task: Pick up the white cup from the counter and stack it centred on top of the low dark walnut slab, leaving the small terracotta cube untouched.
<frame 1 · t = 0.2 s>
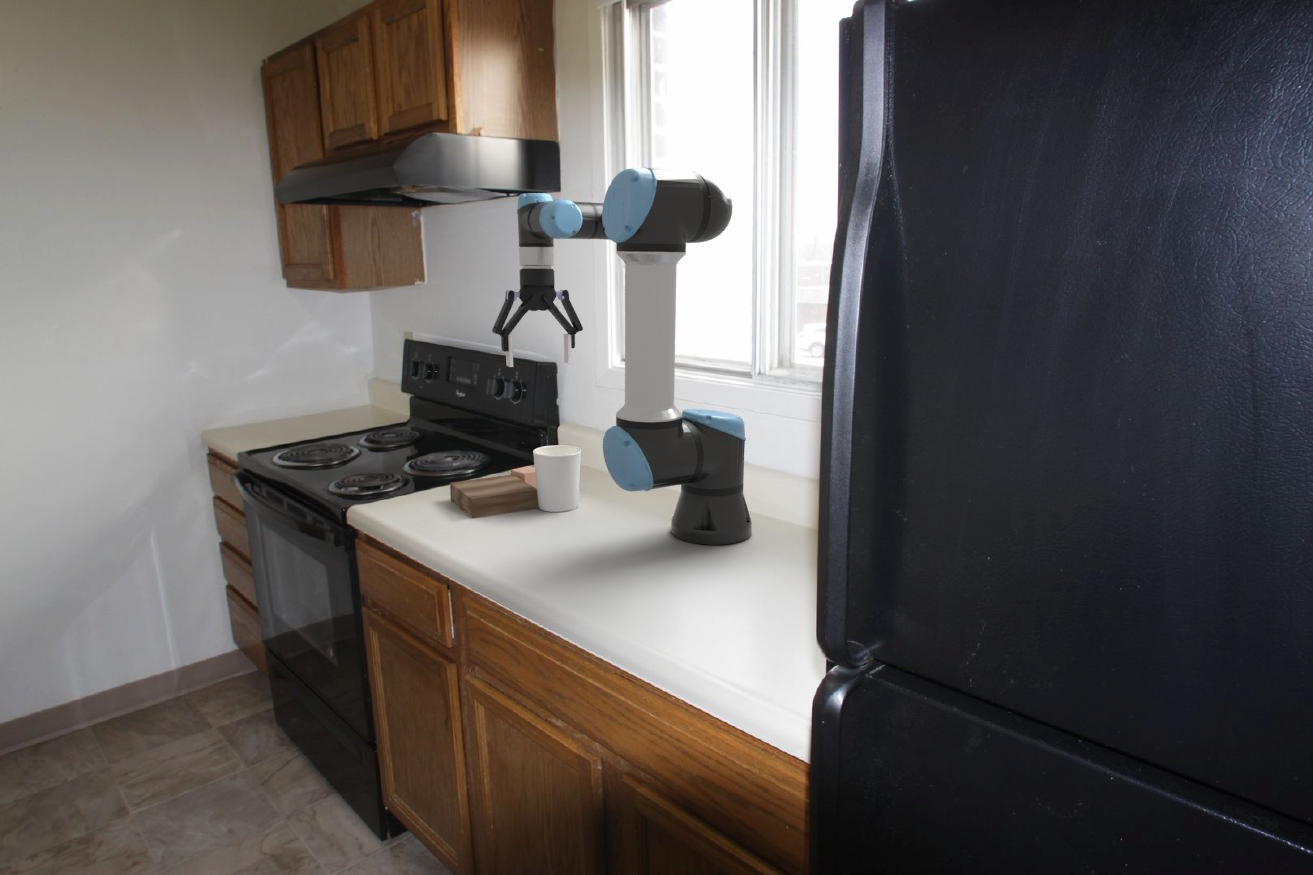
hand: (539, 364, 183), 27 cm above the worktop, fingers open, 13 cm apart
walnut slab: (493, 504, 172), on the worktop
white cup: (558, 507, 171), on the worktop
terracotta cube: (527, 491, 182), on the worktop
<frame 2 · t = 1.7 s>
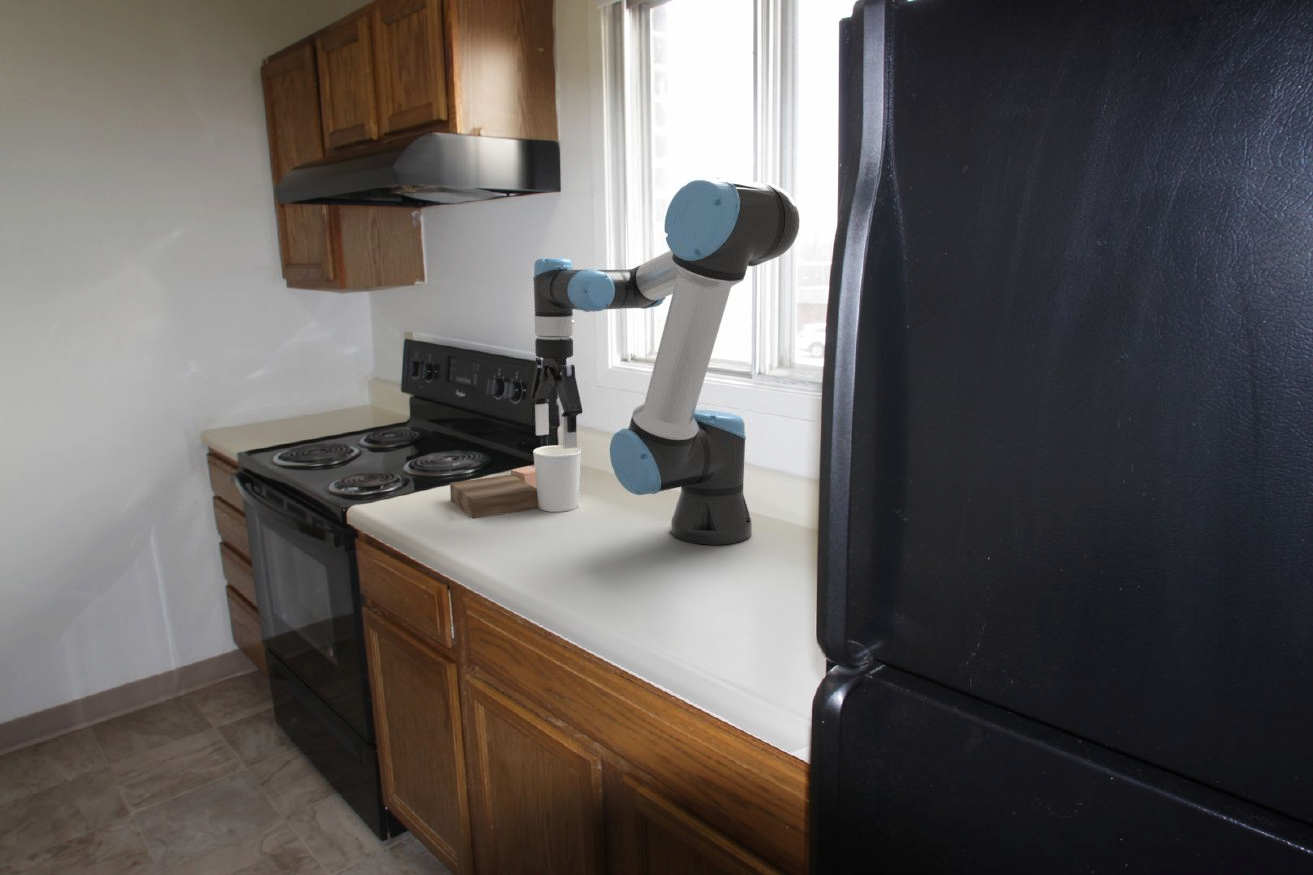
hand: (555, 441, 168), 14 cm above the worktop, fingers open, 13 cm apart
nothing on the worktop moved.
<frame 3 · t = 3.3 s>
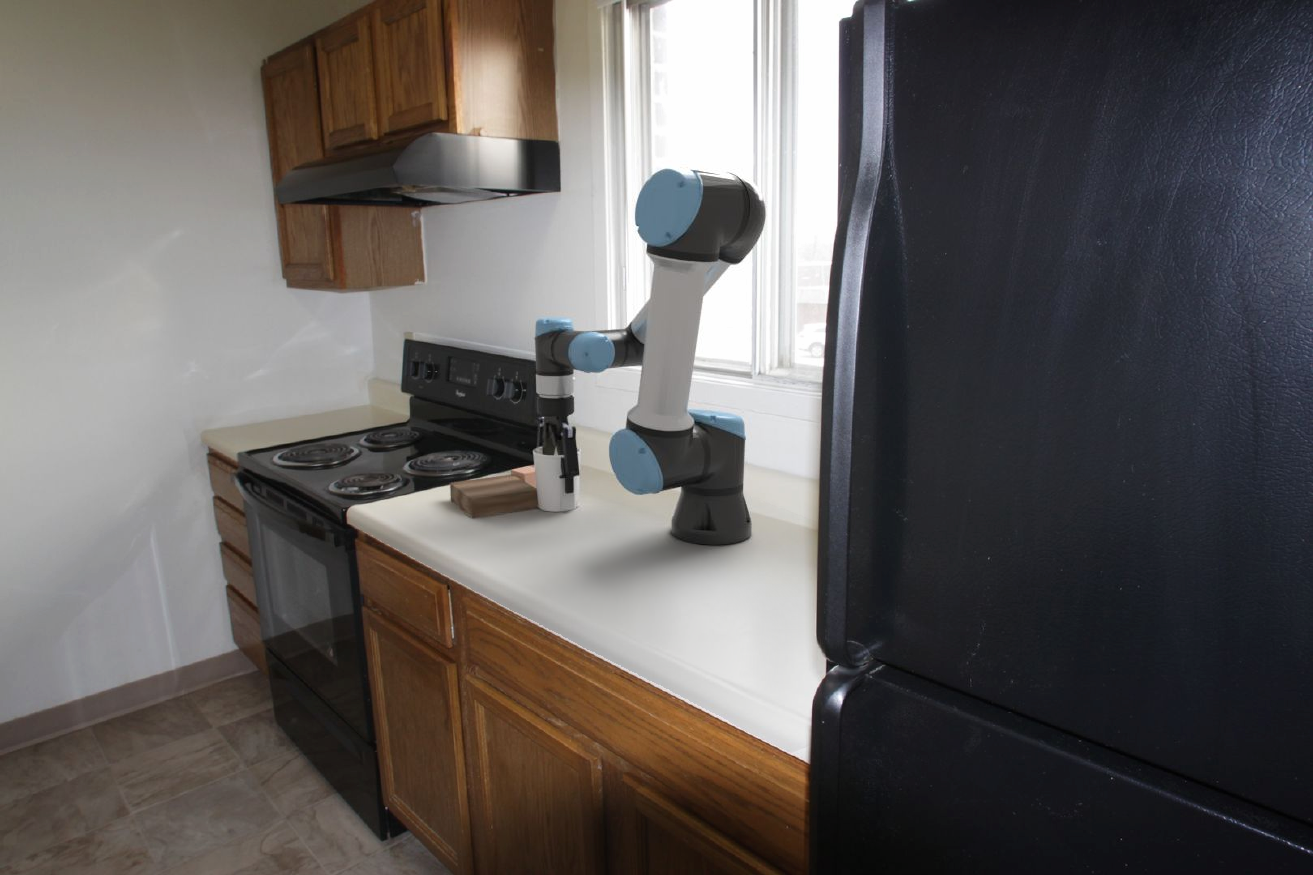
hand: (557, 501, 171), 1 cm above the worktop, fingers closed on white cup, 9 cm apart
white cup: (558, 507, 171), on the worktop, touching gripper
everything else where it was.
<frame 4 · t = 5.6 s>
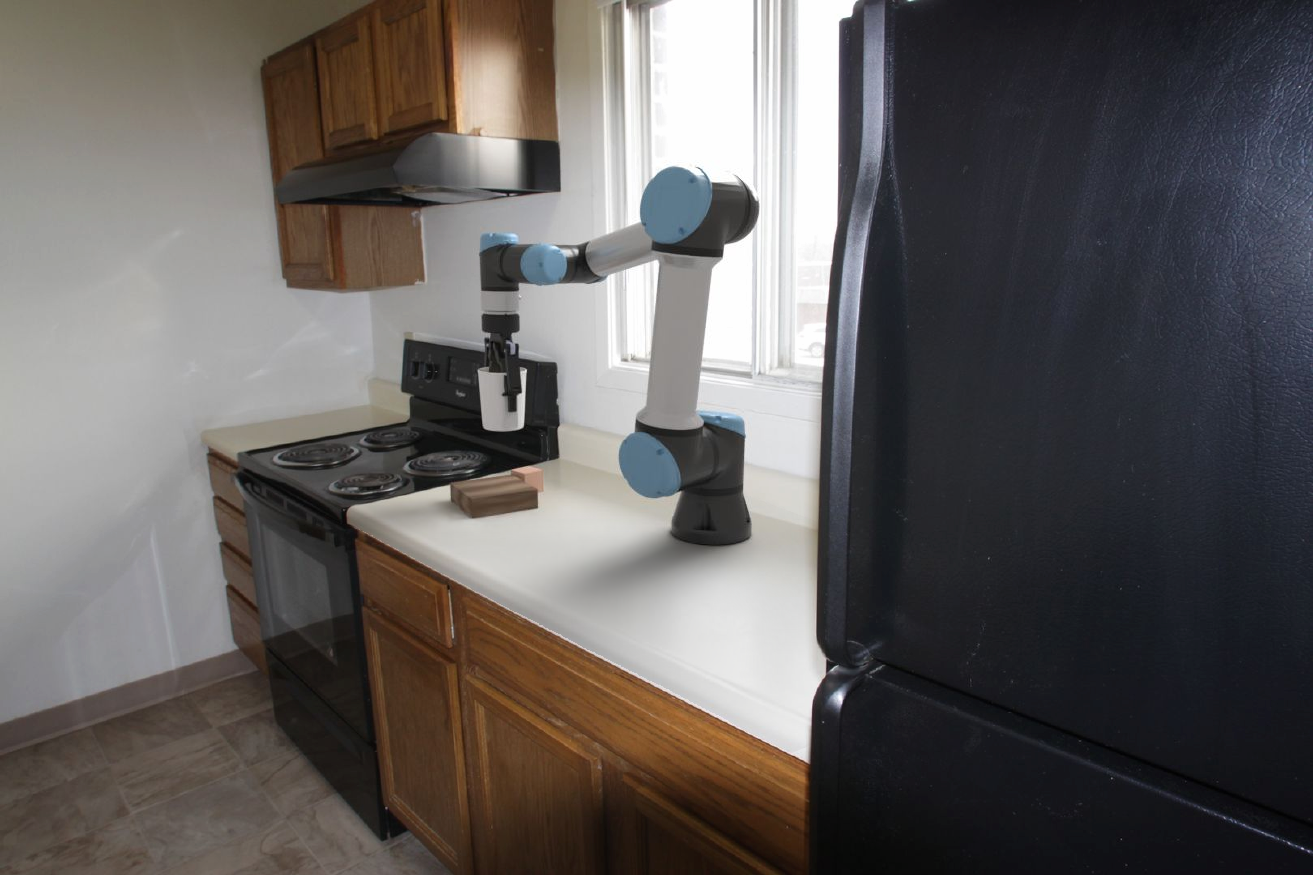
hand: (502, 422, 169), 17 cm above the worktop, fingers closed on white cup, 9 cm apart
white cup: (503, 428, 169), point 16 cm above the worktop, touching gripper
everything else where it was.
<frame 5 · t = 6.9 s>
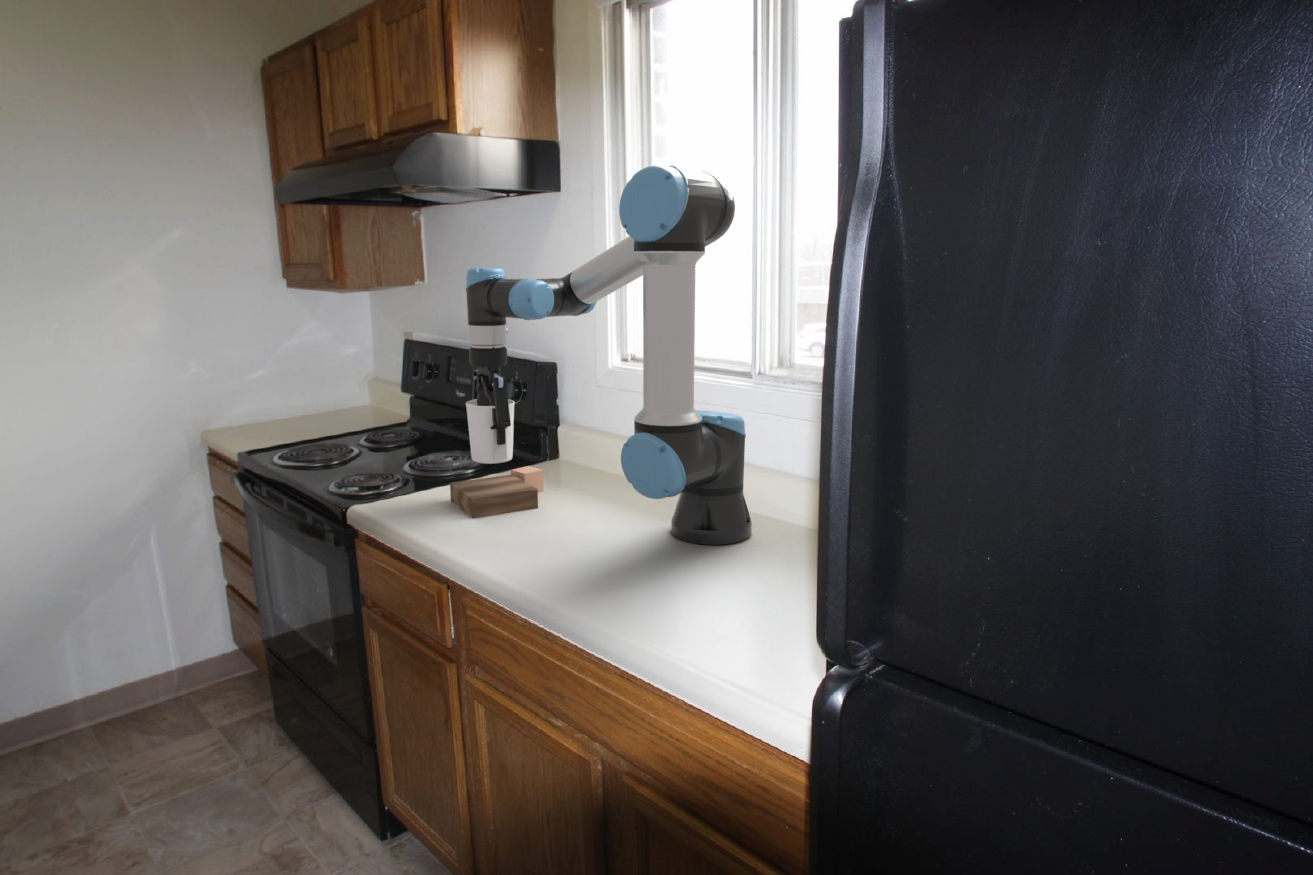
hand: (491, 454, 170), 11 cm above the worktop, fingers closed on white cup, 9 cm apart
white cup: (492, 459, 170), point 10 cm above the worktop, touching gripper
everything else where it was.
when the fingers open (6 cm above the worktop, at t = 8.1 s): white cup drops 1 cm, resting on walnut slab.
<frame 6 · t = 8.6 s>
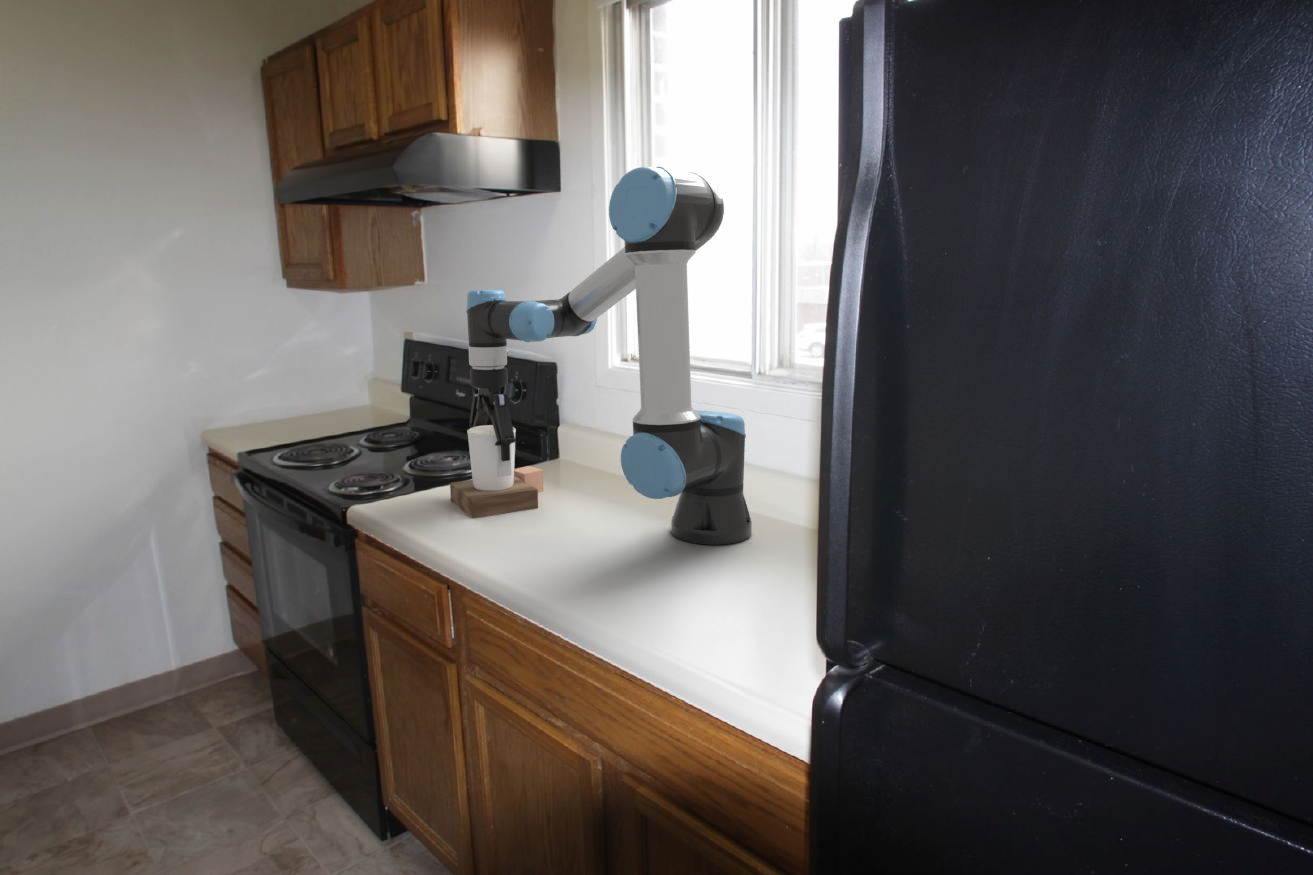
hand: (492, 468, 171), 8 cm above the worktop, fingers open, 13 cm apart
white cup: (493, 486, 172), point 4 cm above the worktop, touching walnut slab
everything else where it was.
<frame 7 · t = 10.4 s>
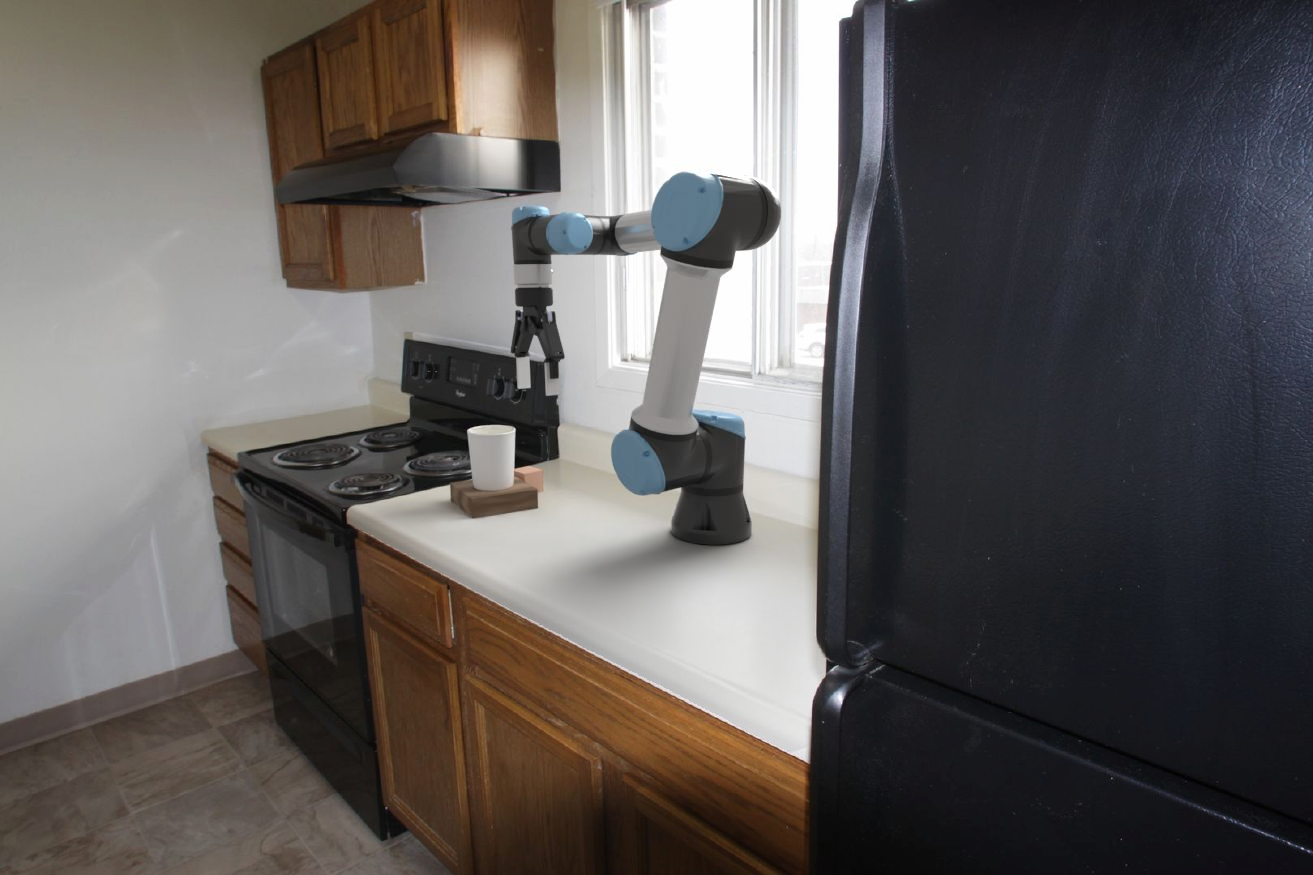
hand: (538, 391, 169), 24 cm above the worktop, fingers open, 13 cm apart
nothing on the worktop moved.
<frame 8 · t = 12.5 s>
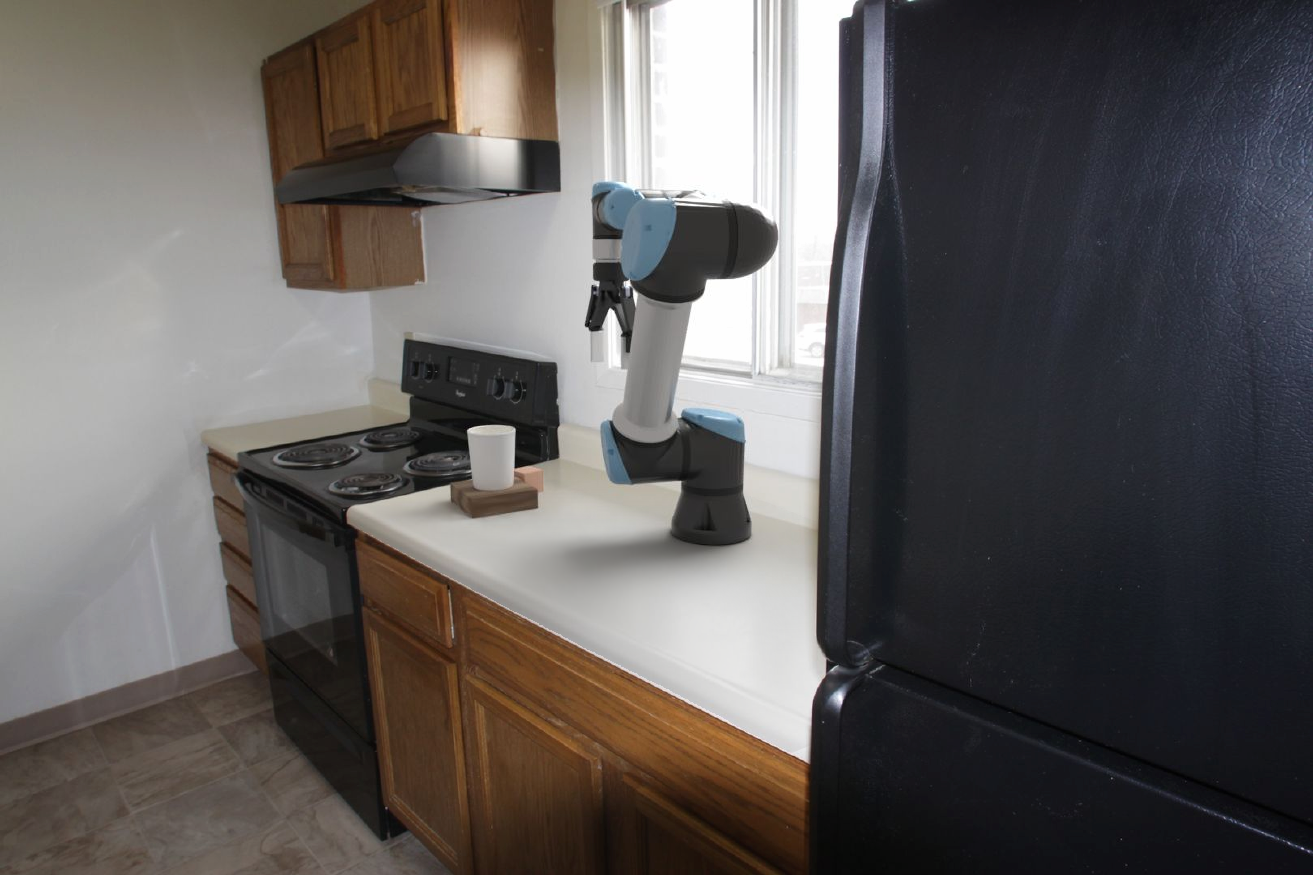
hand: (611, 365, 172), 29 cm above the worktop, fingers open, 13 cm apart
nothing on the worktop moved.
at the end: white cup inside the target area on the walnut slab (0.1 cm from its centre), point 3.8 cm above the walnut slab's base; white cup tilted 0°; the gripper is holding nothing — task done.
